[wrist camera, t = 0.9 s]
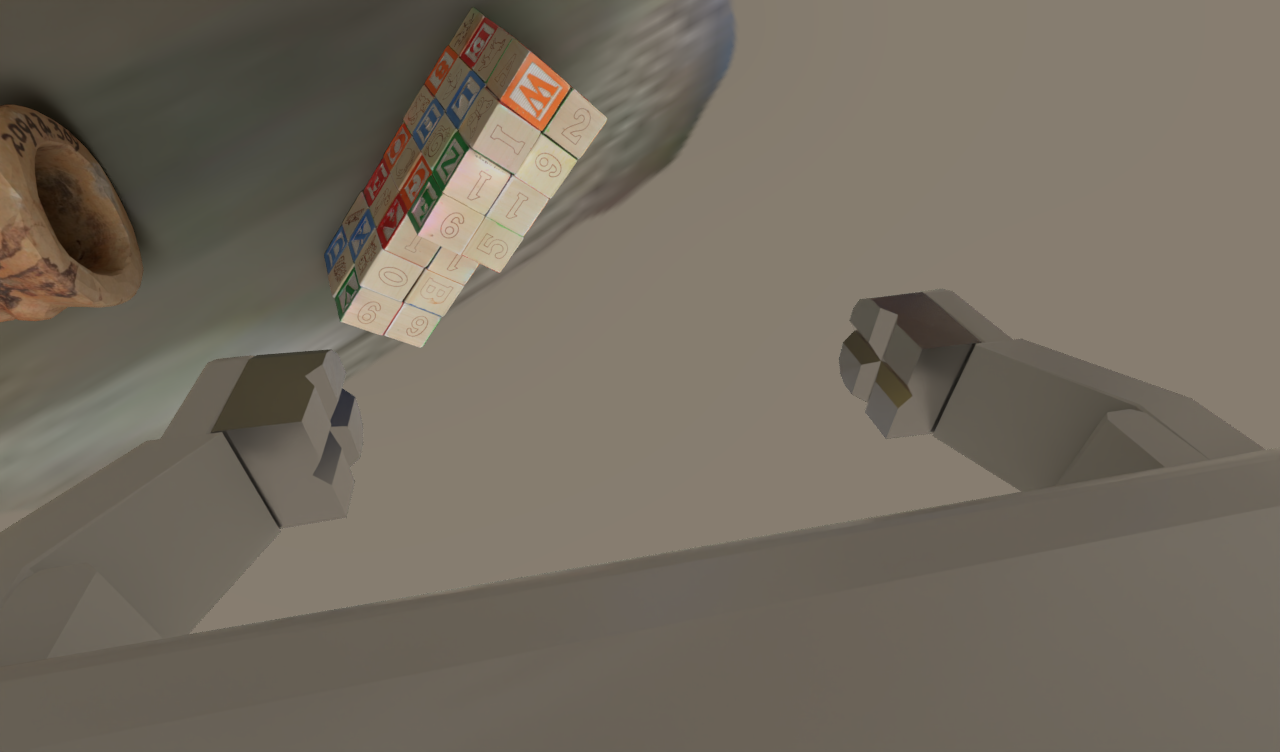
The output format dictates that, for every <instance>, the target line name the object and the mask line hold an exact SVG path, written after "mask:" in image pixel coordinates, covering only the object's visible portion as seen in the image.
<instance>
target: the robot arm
mask: <svg viewBox="0 0 1280 752" xmlns="http://www.w3.org/2000/svg"><path fill="white" fill-rule="evenodd" d="M850 322H851V325H852V327H853V328H854V332H853V333H852V334H851V335H850V336H849V337H848V338H847V339H846V340H845V341H844V342H843V345H842V349H841V353H840V357H839V364H840V374H841V377H842V379H843V382H844V384H845V386H846V387H847V389H848V390H849V391H850V393H851V394H852V395H854V396H856V397H858V398H859V399H862V400H863V401H865V402H867V404H866V410H865V413H866V414H867V415H868V416H869V418H870V419H871V420H872V421H873V423H874V424H875V425H876V427H877V428H878V429H879V430H880V432H881V433H882V434H883V436H884V437H885V438H886V439H889V438H899V437H907V436H914V435H915V436H916V435H924V434H933V436H934V437H935V438H937V439H938V440H940V441H942V442H943V443H945V444H946V445H948V446H950V447H951V448H953V449H954V450H956V451H957V452H959V453H961V454H962V455H964V456H965V457H967V458H969V459H970V460H972V461H974V462H975V463H977V464H978V465H980V466H981V467H983V468H985V469H986V470H988V471H989V472H991V473H993V474H994V475H996V476H997V477H999V478H1001V479H1002V480H1004V481H1006V482H1007V483H1009V484H1010V485H1012V486H1013V487H1015V488H1017V489H1018V490H1020V491H1021V492H1018V493H1012V494H1007V495H1001V496H994V497H989V498H983V499H977V500H971V501H966V502H959V503H954V504H948V505H942V506H936V507H930V508H924V509H919V510H912V511H907V512H901V513H895V514H889V515H883V516H877V517H871V518H865V519H860V520H854V521H848V522H842V523H836V524H830V525H824V526H818V527H812V528H807V529H801V530H795V531H789V532H783V533H778V534H772V535H766V536H760V537H754V538H748V539H742V540H737V541H731V542H725V543H719V544H714V545H707V546H702V547H696V548H690V549H684V550H678V551H672V552H667V553H661V554H655V555H649V556H643V557H637V558H632V559H626V560H620V561H615V562H608V563H603V564H597V565H591V566H585V567H579V568H573V569H567V570H562V571H556V572H550V573H544V574H539V575H533V576H527V577H521V578H515V579H510V580H503V581H497V582H492V583H486V584H480V585H474V586H468V587H462V588H457V589H451V590H445V591H439V592H433V593H427V594H422V595H416V596H410V597H405V598H399V599H393V600H387V601H381V602H375V603H369V604H363V605H358V606H351V607H346V608H340V609H334V610H328V611H323V612H317V613H311V614H305V615H299V616H293V617H287V618H282V619H276V620H270V621H264V622H258V623H252V624H247V625H241V626H235V627H229V628H223V629H217V630H211V631H206V632H200V633H194V634H189V633H190V632H191V631H192V630H193V629H194V628H195V626H196V625H197V624H198V623H199V622H200V621H201V620H202V619H203V618H204V617H205V615H206V614H207V613H208V612H209V611H210V610H211V609H212V608H213V607H214V605H215V604H216V603H217V602H218V601H219V600H220V598H222V597H223V595H224V594H225V593H226V592H227V591H228V590H229V589H230V588H231V586H233V584H234V583H235V582H236V581H237V580H238V579H239V578H240V577H241V576H242V574H243V573H244V572H245V571H246V570H247V569H248V568H249V567H250V566H251V564H252V563H253V562H254V561H255V560H256V559H257V557H259V556H260V554H261V553H262V552H263V551H264V550H265V549H266V548H267V547H268V546H269V544H270V543H271V542H272V541H273V540H274V539H275V538H276V537H277V535H279V533H280V532H281V531H280V529H281V528H287V527H293V526H299V525H305V524H311V523H317V522H322V521H328V520H334V519H340V518H345V517H347V514H348V509H349V505H350V500H351V496H352V492H353V487H354V483H355V480H354V477H353V475H352V472H351V470H350V467H351V466H352V465H353V464H354V463H355V462H356V461H357V460H358V459H360V457H361V451H362V446H363V423H362V418H361V413H360V409H359V406H358V403H357V401H356V398H355V397H354V396H353V395H352V394H350V393H349V392H347V391H345V390H344V389H343V388H342V386H343V383H344V379H345V376H346V371H345V369H344V367H343V364H342V362H341V359H340V357H339V355H338V354H337V353H336V352H335V351H333V350H332V349H331V350H318V351H305V352H292V353H279V354H267V355H257V356H242V357H232V358H222V359H216V360H213V361H211V362H208V363H207V365H206V366H205V368H204V369H203V371H202V373H201V374H200V376H199V378H198V379H197V381H196V382H195V384H194V386H193V387H192V389H191V390H190V392H189V394H188V395H187V397H186V399H185V400H184V402H183V403H182V405H181V407H180V408H179V410H178V411H177V413H176V415H175V416H174V418H173V420H172V421H171V423H170V424H169V426H168V428H167V429H166V431H165V432H164V434H163V436H162V437H161V439H158V440H150V441H146V442H144V443H142V444H141V445H139V446H138V447H136V448H134V449H133V450H131V451H130V452H128V453H126V454H125V455H123V456H122V457H120V458H118V459H117V460H115V461H114V462H112V463H110V464H109V465H107V466H106V467H104V468H102V469H101V470H99V471H98V472H96V473H94V474H93V475H91V476H90V477H88V478H86V479H85V480H83V481H82V482H80V483H78V484H77V485H75V486H74V487H72V488H70V489H69V490H67V491H66V492H64V493H62V494H61V495H59V496H58V497H56V498H54V499H53V500H51V501H50V502H48V503H46V504H45V505H43V506H42V507H40V508H38V509H37V510H35V511H34V512H32V513H30V514H29V515H27V516H26V517H24V518H22V519H21V520H19V521H18V522H16V523H15V524H13V525H11V526H10V527H8V528H7V529H5V530H4V531H2V532H0V752H1280V448H1275V449H1269V450H1265V449H1264V448H1263V447H1261V446H1260V445H1259V444H1257V443H1256V442H1254V441H1253V440H1251V439H1250V438H1248V437H1247V436H1245V435H1244V434H1242V433H1241V432H1240V431H1238V430H1237V429H1235V428H1234V427H1232V426H1231V425H1229V424H1228V423H1226V422H1225V421H1223V420H1222V419H1221V418H1219V417H1218V416H1216V415H1215V414H1213V413H1212V412H1210V411H1209V410H1208V409H1206V408H1205V407H1203V406H1202V405H1200V404H1199V403H1198V402H1196V401H1195V400H1193V399H1192V398H1189V397H1186V396H1183V395H1180V394H1178V393H1175V392H1172V391H1169V390H1166V389H1163V388H1161V387H1158V386H1155V385H1152V384H1149V383H1146V382H1143V381H1141V380H1138V379H1135V378H1131V377H1129V376H1126V375H1123V374H1120V373H1118V372H1115V371H1112V370H1109V369H1106V368H1104V367H1101V366H1098V365H1095V364H1092V363H1089V362H1086V361H1084V360H1081V359H1078V358H1075V357H1072V356H1069V355H1066V354H1064V353H1061V352H1058V351H1055V350H1052V349H1049V348H1047V347H1044V346H1041V345H1038V344H1035V343H1032V342H1029V341H1027V340H1024V339H1014V340H1013V339H1012V338H1010V337H1009V336H1008V335H1007V334H1005V333H1004V332H1003V331H1002V330H1000V329H999V328H998V327H997V326H995V325H994V324H993V323H992V322H990V321H989V320H988V319H987V318H985V317H984V316H983V315H982V314H980V313H979V312H978V311H977V310H975V309H974V308H973V307H972V306H970V305H969V304H968V303H967V302H965V301H964V300H963V299H961V298H960V297H959V296H958V295H957V294H955V293H954V292H953V291H950V290H946V289H935V290H928V291H920V292H915V293H908V294H900V295H891V296H884V297H874V298H866V299H860V300H859V301H858V302H857V304H856V305H855V307H854V308H853V311H852V315H851V318H850Z"/></svg>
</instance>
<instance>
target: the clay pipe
mask: <svg viewBox="0 0 1280 752" xmlns="http://www.w3.org/2000/svg"><path fill="white" fill-rule="evenodd" d="M142 275H143V265H142V260H141V255H140V250H139V247H138V244H137V241H136V237H135V233H134V230H133V227H132V225H131V223H130V220H129V218H128V216H127V213H126V211H125V209H124V207H123V205H122V203H121V201H120V199H119V197H118V195H117V193H116V191H115V189H114V187H113V186H112V184H111V182H110V180H109V179H108V177H107V176H106V174H105V172H104V171H103V169H102V168H101V166H100V164H99V163H98V162H97V161H96V159H95V158H94V157H93V156H92V155H91V153H90V152H89V151H88V150H87V148H86V147H85V146H84V145H83V144H82V143H81V142H80V141H79V140H77V139H76V138H75V137H74V136H73V135H72V134H71V133H70V132H69V131H68V130H67V129H65V128H64V127H63V126H61V125H60V124H58V123H57V122H56V121H54V120H52V119H51V118H49V117H47V116H45V115H43V114H41V113H40V112H38V111H35V110H32V109H30V108H27V107H23V106H18V105H3V106H0V322H4V321H10V320H14V319H18V320H27V321H40V320H46V319H51V318H53V317H54V316H56V315H57V314H58V313H60V312H61V311H63V310H64V309H66V308H67V307H108V306H115V305H119V304H122V303H124V302H126V301H128V300H130V299H131V298H132V297H133V296H134V295H135V294H136V292H137V290H138V289H139V287H140V284H141V280H142Z"/></svg>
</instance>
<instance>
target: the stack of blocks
mask: <svg viewBox="0 0 1280 752" xmlns="http://www.w3.org/2000/svg"><path fill="white" fill-rule="evenodd" d="M606 121H607V117H605V116H604V115H603V114H602V113H601V112H600V111H599V110H597V109H596V108H595V107H594V106H593V105H592V104H591V103H590V102H589V101H588V100H587V99H586V98H585V97H583V96H582V95H581V94H580V93H579V92H577V91H576V90H575V89H574V88H573V87H572V86H571V85H569V84H568V83H567V82H566V81H565V80H564V79H563V78H561V77H560V76H559V75H558V74H557V73H556V72H554V71H553V70H552V69H551V68H550V67H549V66H548V65H547V64H545V63H544V62H543V61H542V60H541V59H539V58H538V57H537V56H536V55H535V54H533V53H532V52H531V51H530V50H529V49H527V48H526V47H525V46H524V45H523V44H521V43H520V42H519V41H518V40H517V39H516V38H514V37H513V36H512V35H510V34H509V33H508V32H506V31H505V30H504V29H502V28H501V27H499V26H498V25H496V24H495V23H494V22H492V21H491V20H489V19H488V18H486V17H485V16H484V15H483V14H482V13H480V12H479V11H478V10H477V9H475V8H474V7H472V8H471V10H470V11H469V13H468V15H467V16H466V18H465V19H464V21H463V23H462V24H461V26H460V28H459V29H458V31H457V33H456V34H455V36H454V38H453V39H452V41H451V43H450V44H449V45H448V46H447V47H446V48H445V50H444V52H443V53H442V55H441V57H440V58H439V60H438V62H437V63H436V65H435V67H434V68H433V70H432V72H431V73H430V75H429V77H428V78H427V80H426V82H425V84H424V85H423V87H422V88H421V90H420V91H419V93H418V94H417V96H416V98H415V99H414V101H413V103H412V105H411V106H410V108H409V110H408V111H407V113H406V115H405V116H404V118H403V124H402V125H401V126H400V128H399V130H398V132H397V133H396V136H395V137H394V138H393V140H392V142H391V143H390V145H389V147H388V149H387V150H386V152H385V153H384V157H383V159H382V160H381V162H380V164H379V165H378V167H377V168H376V170H375V172H374V174H373V175H372V177H371V179H370V180H369V182H368V184H367V185H366V187H365V189H364V191H362V192H360V194H359V196H358V197H357V199H356V201H355V202H354V204H353V206H352V207H351V209H350V211H349V212H348V214H347V216H346V217H345V219H344V221H343V223H342V226H341V227H340V228H339V230H338V232H337V233H336V235H335V237H334V238H333V240H332V242H331V244H330V245H329V247H328V249H327V250H326V252H325V254H324V257H325V262H326V267H327V272H328V275H329V276H328V278H329V283H330V287H331V292H332V296H333V297H334V298H335V302H336V306H337V311H338V315H339V319H340V322H343V323H346V324H349V325H352V326H355V327H358V328H361V329H364V330H367V331H370V332H373V333H376V334H379V335H385V336H387V337H390V338H393V339H396V340H399V341H402V342H405V343H408V344H411V345H414V346H417V347H420V348H422V347H423V346H424V344H425V343H426V341H427V340H428V338H429V337H430V335H431V333H432V332H433V331H434V329H435V328H436V326H437V325H438V323H439V321H440V319H441V317H443V316H444V315H445V314H446V312H447V311H448V309H449V308H450V306H451V305H452V304H453V302H454V301H455V299H456V298H457V296H458V294H459V293H460V292H461V290H462V289H463V287H464V285H465V284H466V283H467V282H468V280H469V279H470V277H471V276H472V274H473V273H474V271H475V270H476V268H477V267H478V265H479V263H480V264H482V265H484V266H486V267H488V268H490V269H492V270H494V271H496V272H498V273H500V272H501V271H502V269H503V268H504V267H505V265H506V264H507V262H508V261H509V259H510V258H511V256H512V255H513V253H514V252H515V250H516V249H517V248H518V246H519V245H520V243H521V242H522V240H523V237H524V235H525V234H526V233H527V231H528V230H529V229H530V227H531V226H532V224H533V223H534V221H535V220H536V218H537V217H538V215H539V214H540V213H541V211H542V210H543V208H544V207H545V205H546V204H547V202H548V200H549V199H551V198H552V197H553V195H554V194H555V193H556V191H557V190H558V188H559V187H560V185H561V184H562V183H563V181H564V180H565V178H566V177H567V175H568V174H569V173H570V171H571V170H572V168H573V167H574V165H575V164H576V162H577V159H579V158H580V157H582V155H583V154H584V152H585V151H586V150H587V148H588V147H589V145H590V144H591V143H592V141H593V140H594V138H595V137H596V136H597V134H598V133H599V131H600V130H601V129H602V127H603V126H604V124H605V123H606Z"/></svg>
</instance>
